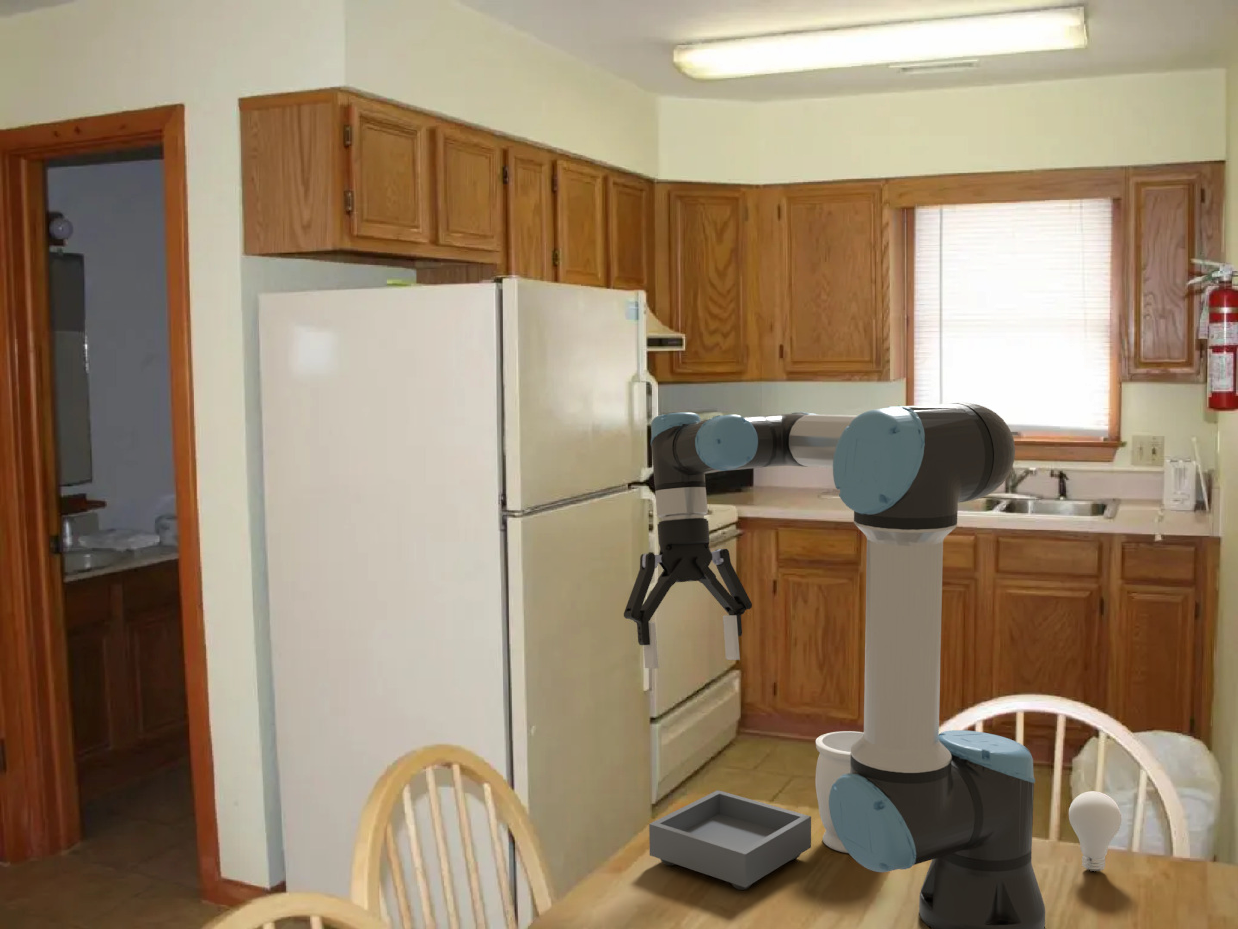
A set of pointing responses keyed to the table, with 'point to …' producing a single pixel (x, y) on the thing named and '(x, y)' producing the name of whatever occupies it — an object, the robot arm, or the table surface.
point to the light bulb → (1094, 826)
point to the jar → (832, 776)
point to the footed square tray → (730, 838)
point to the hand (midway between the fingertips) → (692, 664)
